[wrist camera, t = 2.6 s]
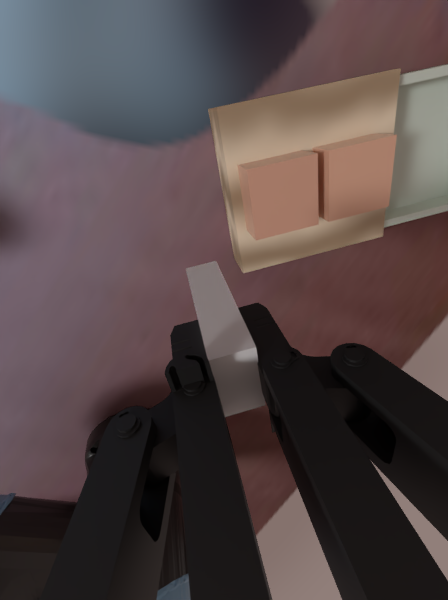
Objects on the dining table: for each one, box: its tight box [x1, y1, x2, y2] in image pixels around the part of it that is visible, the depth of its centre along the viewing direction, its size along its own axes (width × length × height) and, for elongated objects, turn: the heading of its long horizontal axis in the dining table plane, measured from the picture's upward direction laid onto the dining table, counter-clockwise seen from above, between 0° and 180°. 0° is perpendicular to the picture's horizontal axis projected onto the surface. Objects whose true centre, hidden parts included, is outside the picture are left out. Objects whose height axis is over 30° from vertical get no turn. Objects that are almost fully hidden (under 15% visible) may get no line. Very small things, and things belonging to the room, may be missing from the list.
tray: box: [384, 64, 448, 227], centre depth 32 cm, size 14×12×3 cm
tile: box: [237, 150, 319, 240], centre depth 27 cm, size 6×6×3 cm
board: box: [208, 68, 401, 273], centre depth 30 cm, size 15×16×4 cm
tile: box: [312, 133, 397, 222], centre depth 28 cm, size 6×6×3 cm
